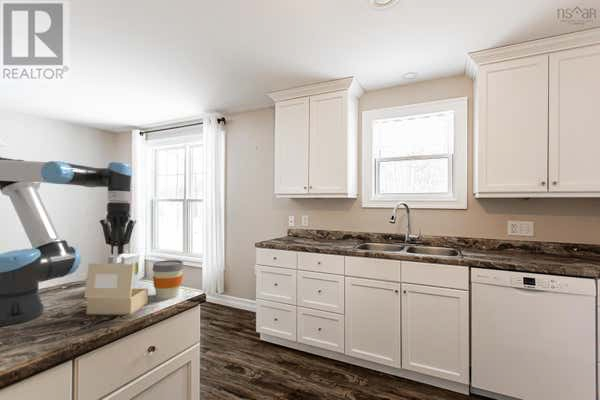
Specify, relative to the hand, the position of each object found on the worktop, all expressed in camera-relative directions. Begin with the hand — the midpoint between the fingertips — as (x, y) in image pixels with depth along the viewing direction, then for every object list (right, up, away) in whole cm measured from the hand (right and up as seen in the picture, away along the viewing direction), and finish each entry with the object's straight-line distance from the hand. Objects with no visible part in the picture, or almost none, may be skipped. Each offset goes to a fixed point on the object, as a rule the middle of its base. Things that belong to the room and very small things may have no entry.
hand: (117, 262), depth 107 cm
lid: (+1, -6, -5) cm, 8 cm away
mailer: (0, -18, +1) cm, 18 cm away
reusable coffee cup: (+12, -19, +16) cm, 28 cm away
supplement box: (-12, -19, +22) cm, 32 cm away
